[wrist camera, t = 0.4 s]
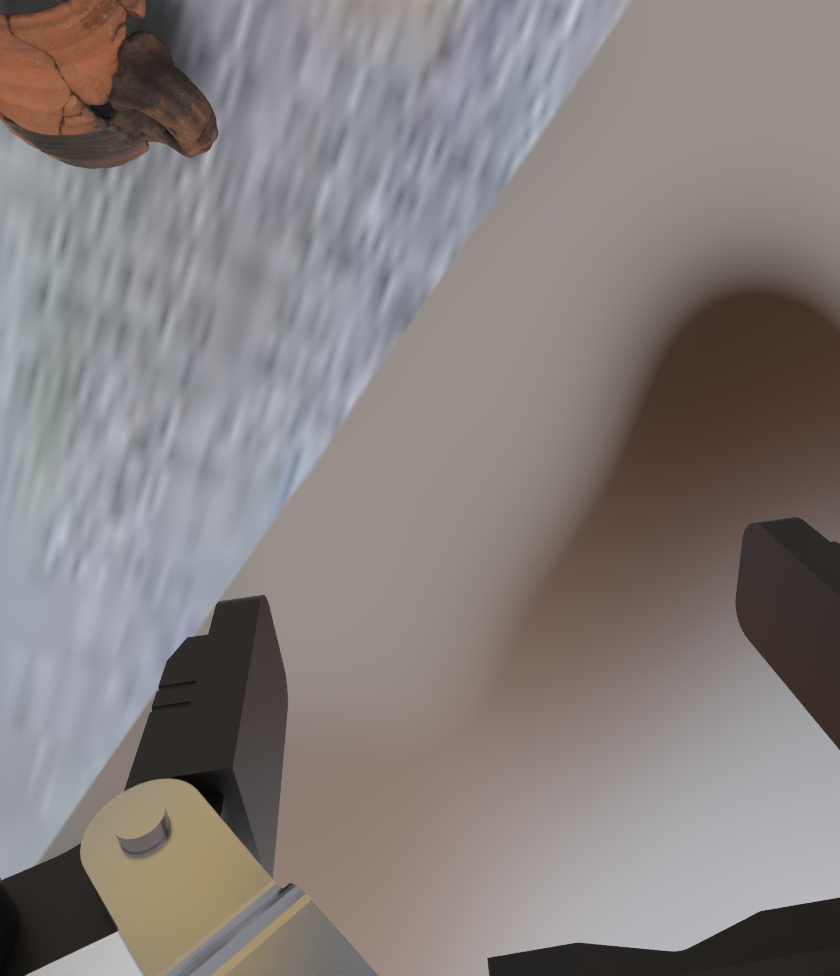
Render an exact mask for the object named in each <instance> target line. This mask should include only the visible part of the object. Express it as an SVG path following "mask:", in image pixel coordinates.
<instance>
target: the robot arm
mask: <svg viewBox="0 0 840 976" xmlns="http://www.w3.org/2000/svg"><path fill="white" fill-rule="evenodd" d="M736 612H737V617H738V621H739V623H740V626H741V628H742V631H743V632H744V634H745V636H746V637H747V638H748V640H749V641H750V642H751V643H752V644H753V646H754V647H755V648H756V649H757V651H758V652H759V653H760V654H761V655H762V657H763V658H764V659H765V660H766V661H767V662H768V664H769V665H770V666H771V667H772V669H773V670H774V671H775V672H776V673H777V674H778V676H779V677H780V678H781V679H782V681H783V682H784V683H785V684H786V685H787V687H788V688H789V689H790V690H791V692H792V693H793V694H794V695H795V696H796V698H797V699H798V700H799V701H800V702H801V704H802V705H803V706H804V707H805V709H806V710H807V711H808V712H809V713H810V715H811V716H812V717H813V718H814V719H815V721H816V722H817V723H818V724H819V725H820V727H821V728H822V729H823V730H824V732H825V733H826V734H827V735H828V736H829V738H830V739H831V740H832V741H833V742H834V744H835V745H836V746H837V747H838V748H839V750H840V544H839V543H837V542H835V541H834V542H829V541H828V540H827V539H826V538H824V537H823V536H822V535H821V534H819V533H818V532H817V531H816V530H815V529H813V528H812V527H811V526H810V525H808V524H807V523H806V522H805V521H804V520H802V519H800V518H798V517H791V518H784V519H777V520H771V521H764V522H756V523H751V524H749V525H748V526H747V527H746V529H745V531H744V534H743V540H742V549H741V557H740V566H739V575H738V583H737V592H736ZM287 711H288V693H287V682H286V675H285V669H284V665H283V661H282V657H281V653H280V648H279V644H278V640H277V636H276V632H275V628H274V624H273V619H272V616H271V612H270V607H269V603H268V600H267V598H266V597H265V595H261V596H253V597H246V598H239V599H232V600H225V601H219V602H218V603H217V604H216V607H215V611H214V615H213V618H212V622H211V627H210V630H209V634H208V635H202V636H195V637H188V638H187V639H186V640H185V641H184V642H183V643H182V644H181V645H180V647H179V648H178V649H177V650H176V651H175V652H174V654H173V655H172V656H171V657H170V658H169V659H168V660H167V662H166V665H165V668H164V671H163V674H162V677H161V680H160V684H159V691H157V693H156V696H155V699H154V702H153V705H152V712H151V713H150V714H149V717H148V720H147V723H146V726H145V729H144V732H143V735H142V738H141V741H140V744H139V747H138V750H137V754H136V756H135V760H134V762H133V766H132V768H131V772H130V775H129V778H128V781H127V784H126V787H125V790H124V792H123V793H121V794H119V795H118V796H117V797H115V798H114V799H112V800H111V801H110V802H109V803H108V804H106V805H105V806H104V807H103V808H102V809H101V810H100V811H99V812H98V814H97V815H96V816H95V817H94V819H93V820H92V821H91V823H90V824H89V826H88V828H87V830H86V832H85V834H84V836H83V839H82V842H81V843H80V844H79V845H77V846H75V847H74V848H72V849H71V850H69V851H67V852H65V853H63V854H61V855H59V856H57V857H55V858H53V859H50V860H48V861H46V862H43V863H41V864H39V865H36V866H34V867H32V868H29V869H27V870H25V871H22V872H20V873H18V874H15V875H13V876H11V877H8V878H6V879H4V880H1V878H0V976H378V975H377V974H376V972H375V971H374V970H373V969H372V968H371V967H370V966H369V964H368V963H367V962H366V961H365V960H364V959H363V958H362V956H361V955H360V954H359V953H358V952H357V951H356V950H355V949H354V947H353V946H352V945H351V944H350V943H349V942H348V940H347V939H346V938H345V937H344V936H343V935H342V934H341V933H340V931H339V930H338V929H337V928H336V927H335V926H334V925H333V923H332V922H331V921H330V920H329V919H328V918H327V917H326V915H325V914H324V913H323V912H322V911H321V910H320V909H319V907H318V906H317V905H316V904H315V903H314V902H313V901H312V899H311V898H310V897H309V896H308V895H307V894H306V893H305V892H304V891H303V890H302V889H300V888H299V887H298V886H296V885H294V884H288V885H287V886H286V887H285V888H283V889H282V888H281V887H280V886H279V885H277V884H276V882H275V881H274V880H273V868H274V858H275V847H276V835H277V824H278V813H279V801H280V790H281V779H282V767H283V756H284V744H285V734H286V722H287ZM488 969H489V976H840V898H835V899H829V900H823V901H817V902H812V903H806V904H801V905H794V906H788V907H782V908H777V909H771V910H765V911H760V912H758V913H756V914H754V915H752V916H750V917H749V918H747V919H745V920H743V921H741V922H739V923H737V924H735V925H733V926H731V927H729V928H727V929H725V930H723V931H721V932H719V933H718V934H716V935H714V936H712V937H710V938H708V939H706V940H704V941H702V942H700V943H698V944H696V945H694V946H692V947H690V948H688V949H686V950H683V951H677V952H671V951H659V950H649V949H638V948H628V947H618V946H607V945H596V944H585V943H573V944H567V945H561V946H555V947H549V948H544V949H538V950H532V951H526V952H520V953H514V954H509V955H503V956H497V957H492V958H488Z"/></svg>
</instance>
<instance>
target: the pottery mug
mask: <svg viewBox="0 0 840 976" xmlns="http://www.w3.org/2000/svg"><path fill="white" fill-rule="evenodd" d="M145 13H146V0H65V1H64V2H62V3H60V4H58V5H55V6H54V7H51V8H48V9H45V10H42V11H37V12H34V13H26V14H13V15H6V14H4V13H0V119H1V120H2V121H3V122H4V123H5V125H6V126H7V127H8V128H9V129H10V131H11V132H13V133H14V134H15V135H16V136H18V137H19V138H21V139H22V140H23V141H25V142H26V143H27V144H29V145H30V146H33V147H35V148H37V149H39V150H41V151H42V152H44V153H46V154H47V155H49V156H51V157H53V158H55V159H57V160H59V161H62V162H64V163H66V164H69V165H73V166H77V167H83V168H91V169H94V168H110V167H115V166H120V165H123V164H125V163H127V162H129V161H131V160H133V159H135V158H137V157H139V156H141V155H142V154H144V153H145V152H147V151H148V150H149V146H148V144H147V142H146V141H149V142H160V143H163V144H167V145H168V146H170V147H172V148H173V149H175V150H176V151H177V152H179V153H181V154H182V155H184V156H186V157H190V158H192V157H195V156H196V155H198V154H201V153H205V152H207V151H208V150H210V148H211V146H212V143H213V142H214V141H215V140H216V139H217V136H218V130H217V124H216V117H215V114H214V112H213V109H212V107H211V105H210V104H209V102H208V101H207V99H206V97H205V96H204V95H203V94H202V92H201V91H200V90H199V89H198V88H197V87H196V86H195V85H194V84H193V83H192V82H191V81H190V80H189V79H188V78H187V77H186V76H185V75H184V74H183V73H182V72H181V71H180V70H179V69H178V68H176V67H175V65H174V62H173V60H172V57H171V55H170V51H169V49H168V47H167V45H166V44H165V43H164V42H162V41H161V40H159V39H157V38H156V37H155V36H154V35H152V34H151V33H149V32H146V31H142V30H140V31H137V32H134V33H132V34H131V35H130V36H129V37H127V36H126V17H127V15H130V16H133V17H135V18H137V19H143V18H144V17H145ZM105 103H110V104H111V106H112V107H113V108H114V110H113V112H112V114H111V116H110V117H109V118H108V117H105V116H104V115H103V114H101V113H100V112H98V111H97V110H96V109H94V108H93V107H92V106H91V105H104V104H105Z"/></svg>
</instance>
